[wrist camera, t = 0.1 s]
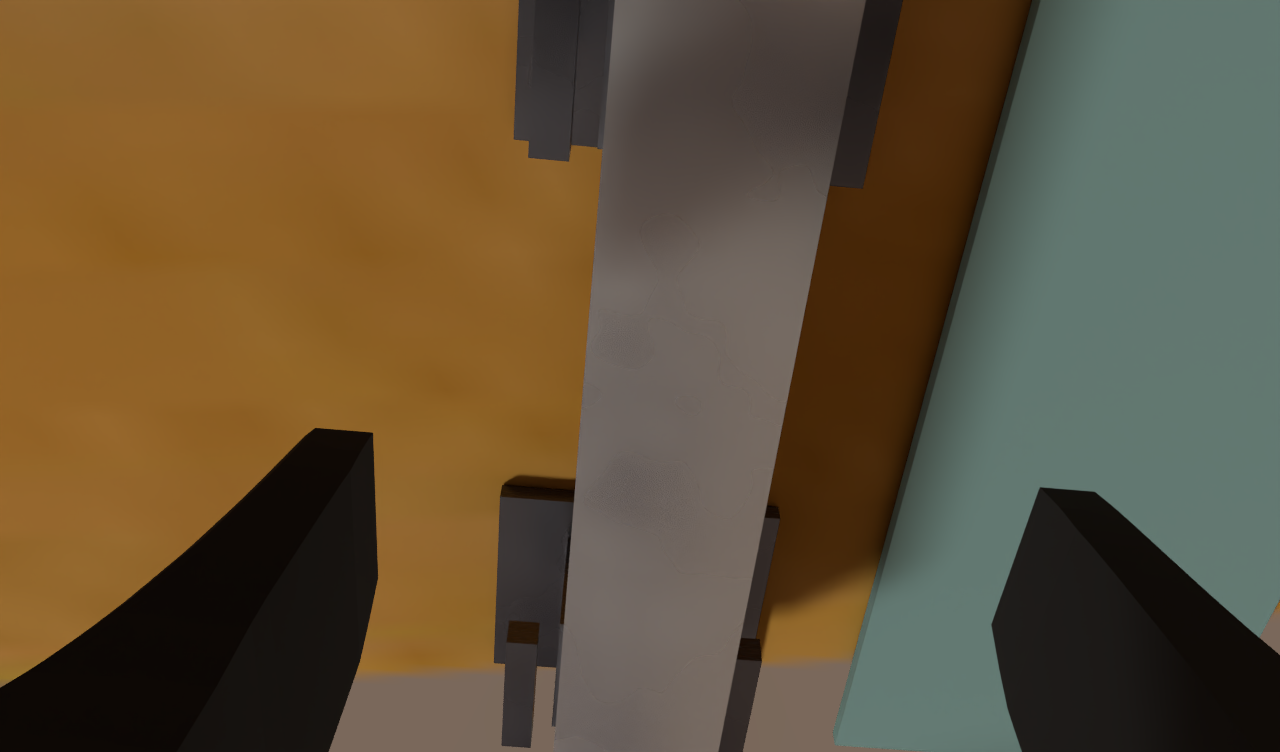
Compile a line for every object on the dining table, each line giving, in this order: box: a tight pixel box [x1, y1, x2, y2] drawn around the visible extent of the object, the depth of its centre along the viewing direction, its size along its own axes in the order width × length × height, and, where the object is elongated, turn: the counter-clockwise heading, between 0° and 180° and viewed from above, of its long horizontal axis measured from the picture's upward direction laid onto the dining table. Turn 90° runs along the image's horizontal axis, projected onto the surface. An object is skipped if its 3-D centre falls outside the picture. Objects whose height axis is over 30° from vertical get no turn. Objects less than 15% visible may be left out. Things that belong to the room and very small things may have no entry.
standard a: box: [494, 485, 780, 752], centre depth 25 cm, size 5×6×4 cm
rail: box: [554, 0, 866, 752], centre depth 19 cm, size 18×3×4 cm, turn 175°
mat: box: [833, 0, 1280, 752], centre depth 23 cm, size 22×9×1 cm, turn 175°
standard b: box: [514, 0, 903, 189], centre depth 18 cm, size 5×6×4 cm
